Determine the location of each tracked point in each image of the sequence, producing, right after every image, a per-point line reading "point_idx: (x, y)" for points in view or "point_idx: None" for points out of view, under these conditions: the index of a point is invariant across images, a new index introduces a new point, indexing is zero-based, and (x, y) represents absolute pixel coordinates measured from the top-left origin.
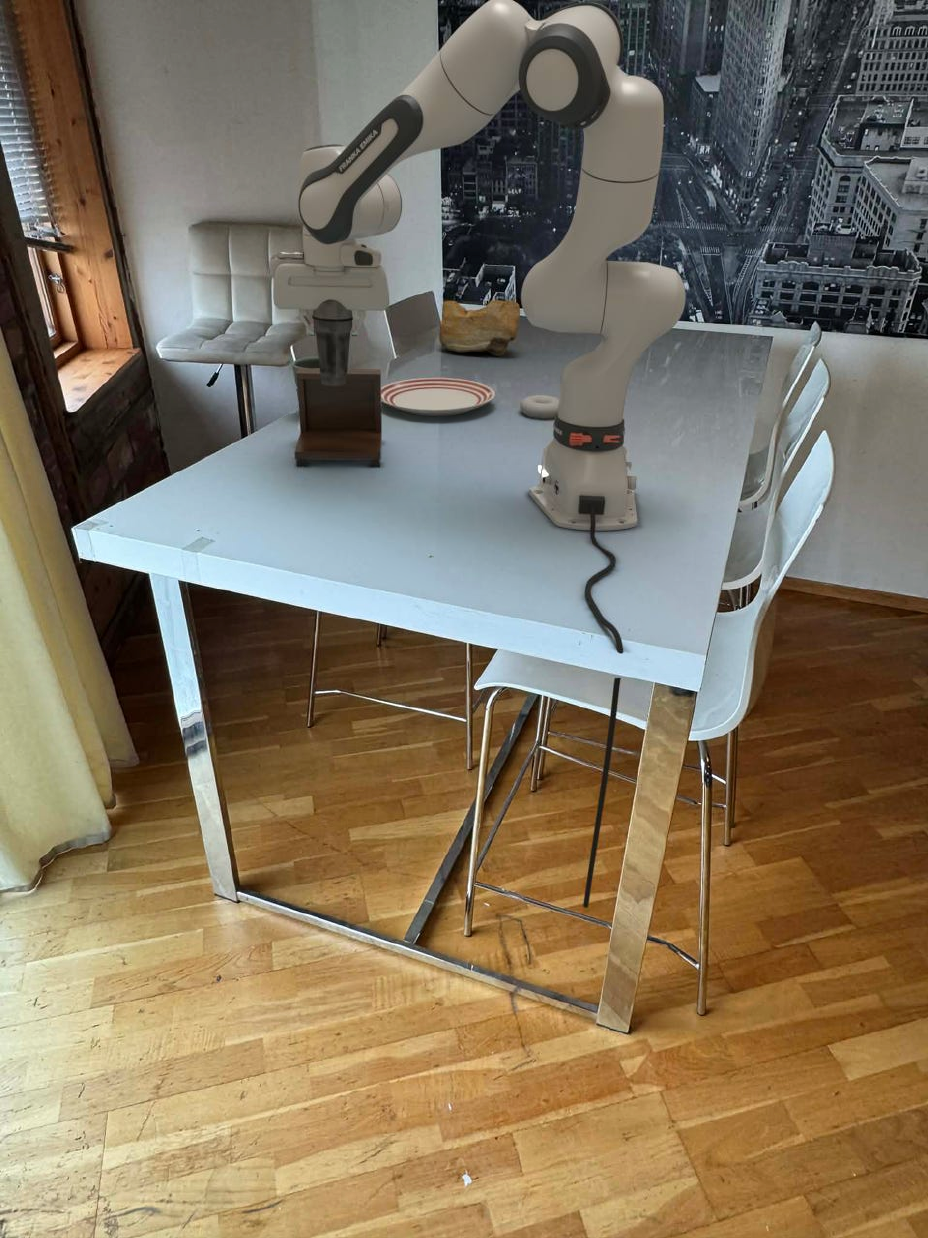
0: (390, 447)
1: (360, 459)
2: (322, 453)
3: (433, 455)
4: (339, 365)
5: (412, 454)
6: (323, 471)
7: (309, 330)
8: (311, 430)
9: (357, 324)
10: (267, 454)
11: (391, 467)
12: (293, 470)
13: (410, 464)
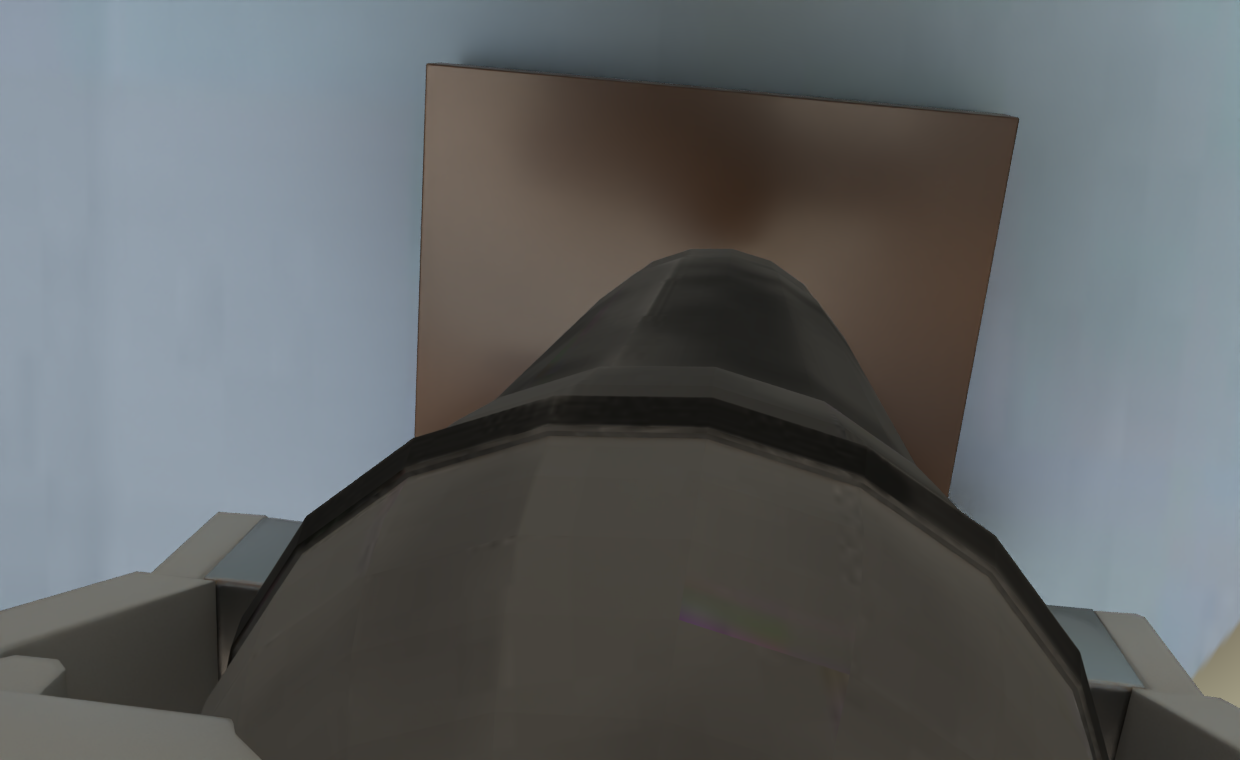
0: (386, 415)
1: (570, 74)
2: (822, 99)
3: (132, 252)
4: (629, 288)
5: (256, 281)
6: (818, 14)
7: (1107, 638)
8: None
9: (168, 583)
10: (1154, 362)
11: (386, 56)
12: (1012, 48)
13: (269, 102)
